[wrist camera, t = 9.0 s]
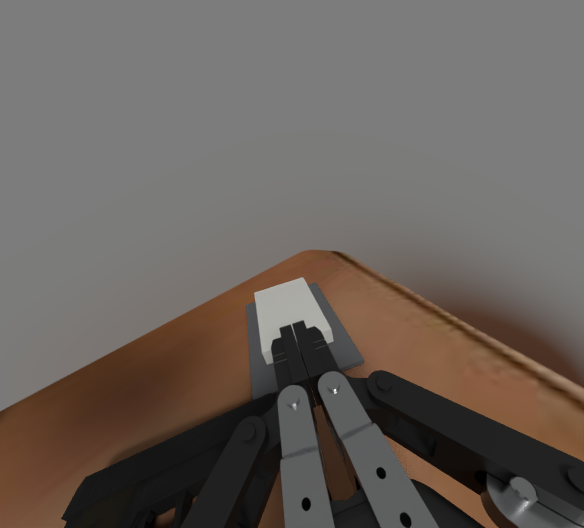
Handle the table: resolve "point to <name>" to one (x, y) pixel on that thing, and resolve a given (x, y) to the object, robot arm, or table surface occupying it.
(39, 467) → the table surface
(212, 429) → the handgun
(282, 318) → the tile
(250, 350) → the mat
